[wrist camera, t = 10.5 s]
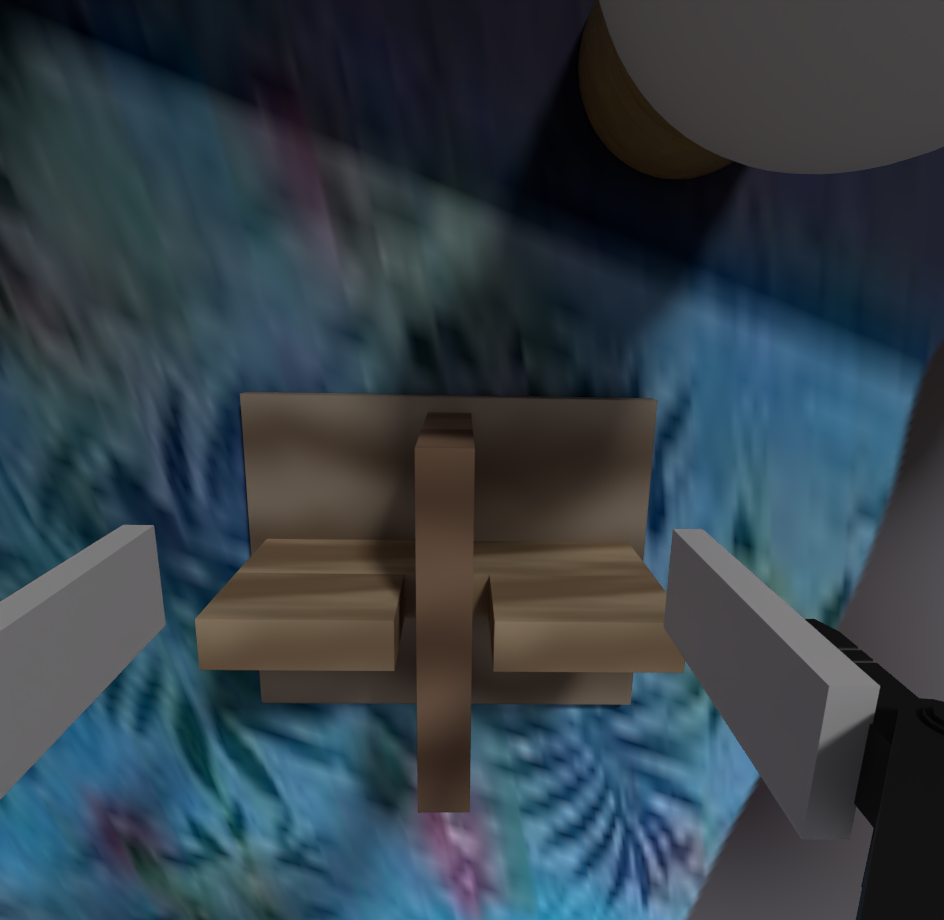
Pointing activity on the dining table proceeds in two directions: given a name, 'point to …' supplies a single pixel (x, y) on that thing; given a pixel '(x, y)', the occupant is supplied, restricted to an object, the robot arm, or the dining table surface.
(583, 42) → the lamp
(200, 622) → the wooden joinery piece
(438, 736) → the walnut plate
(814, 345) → the dining table surface
